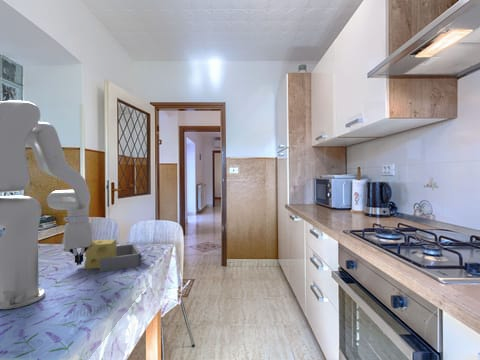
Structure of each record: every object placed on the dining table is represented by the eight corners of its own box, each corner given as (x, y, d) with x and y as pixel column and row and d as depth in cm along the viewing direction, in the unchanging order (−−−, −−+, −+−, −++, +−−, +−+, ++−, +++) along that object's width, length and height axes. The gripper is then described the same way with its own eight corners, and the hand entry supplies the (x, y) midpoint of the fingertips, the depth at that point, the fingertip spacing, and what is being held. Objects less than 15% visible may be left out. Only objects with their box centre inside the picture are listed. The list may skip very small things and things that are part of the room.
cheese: (84, 270, 109) (83, 245, 109) (92, 262, 120) (92, 239, 120) (112, 267, 112) (111, 243, 111) (117, 260, 122) (117, 238, 122)
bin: (141, 265, 114) (140, 253, 114) (100, 272, 107) (100, 259, 107) (134, 254, 132) (134, 243, 132) (99, 258, 125) (99, 247, 125)
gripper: (55, 222, 105) (56, 269, 105) (99, 219, 112) (99, 263, 113) (57, 220, 112) (58, 264, 112) (98, 217, 119) (99, 258, 119)
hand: (79, 263), depth 112 cm, fingers closed
